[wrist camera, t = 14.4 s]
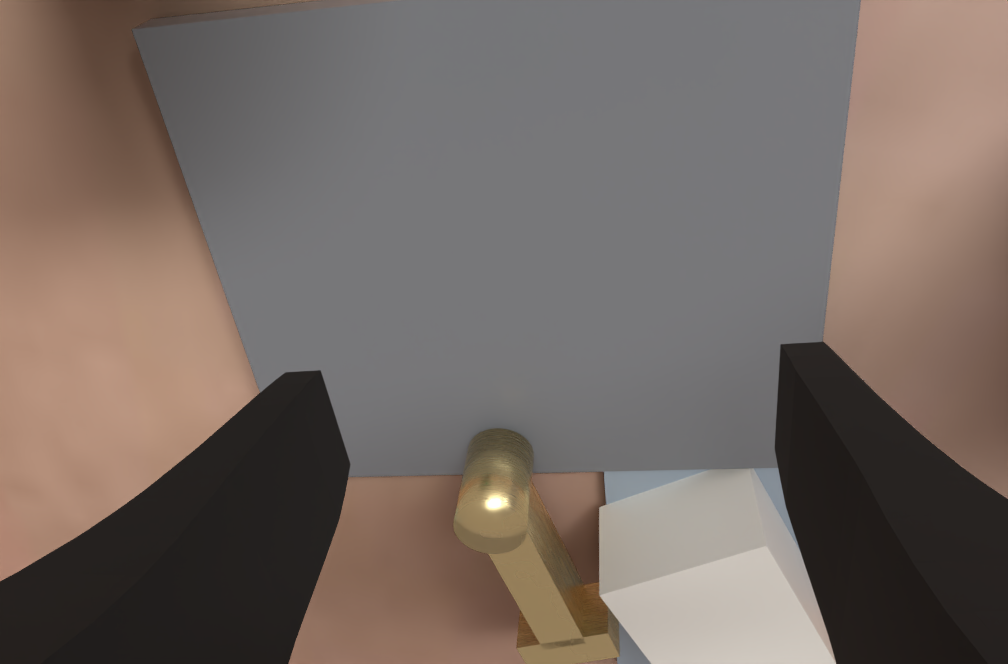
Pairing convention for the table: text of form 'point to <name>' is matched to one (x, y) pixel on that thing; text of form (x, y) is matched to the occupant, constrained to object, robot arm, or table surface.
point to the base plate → (520, 214)
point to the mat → (637, 482)
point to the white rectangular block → (709, 575)
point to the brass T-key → (530, 555)
